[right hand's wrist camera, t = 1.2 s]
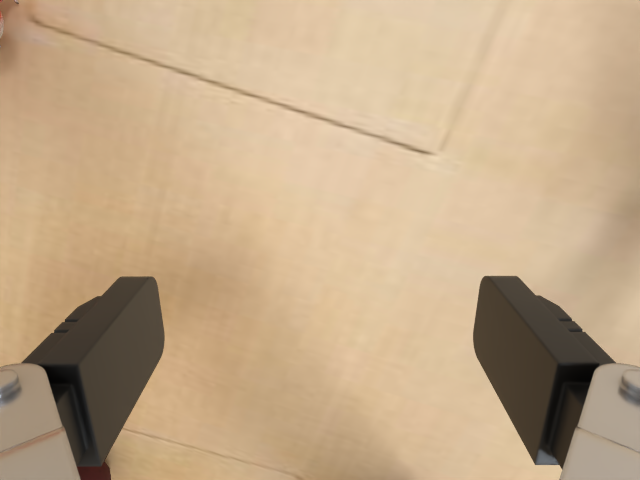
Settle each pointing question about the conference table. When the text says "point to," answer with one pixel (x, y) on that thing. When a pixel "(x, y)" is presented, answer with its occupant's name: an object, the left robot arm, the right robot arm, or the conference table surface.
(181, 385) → the conference table surface
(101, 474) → the dark red ball
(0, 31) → the fish
